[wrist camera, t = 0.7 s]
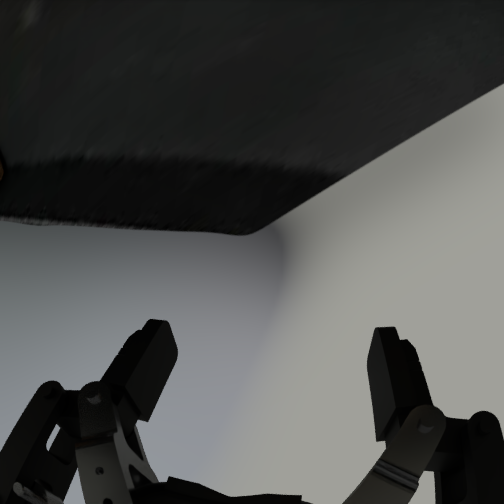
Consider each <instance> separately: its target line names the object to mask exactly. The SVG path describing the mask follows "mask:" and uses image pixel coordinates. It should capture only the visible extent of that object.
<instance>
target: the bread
mask: <svg viewBox="0 0 504 504" xmlns="http://www.w3.org/2000/svg"><path fill="white" fill-rule="evenodd" d="M3 173H4V170H3V166H2V163H1V159H0V181H1V179H2V177H3Z"/></svg>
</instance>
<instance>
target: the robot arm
mask: <svg viewBox="0 0 504 504" xmlns="http://www.w3.org/2000/svg"><path fill="white" fill-rule="evenodd" d="M177 356H178V349H177V345H176V342H175V339H174V336H173V333H172V330H171V327H170V324H169V322H168V321H164V320H156V319H150V320H148V321H147V322H146V324H145V325H144V327H143V328H142V330H137V331H136V332H135V333H133V334H132V335H131V336H130V337H129V338H128V339H127V341H126V342H125V343H124V345H123V348H121V350H120V351H119V353H118V355H117V356H116V357H115V358H114V360H113V362H112V363H111V365H110V366H109V368H108V369H107V371H106V372H105V374H104V376H103V377H102V378H101V380H100V381H94V382H90V383H88V384H86V385H85V386H83V387H82V389H81V390H64V388H63V387H62V386H61V384H60V383H59V382H57V381H48V382H45V383H43V384H42V385H41V386H40V387H39V388H38V390H37V391H36V393H35V394H34V396H33V398H32V399H31V401H30V402H29V404H28V405H27V407H26V409H25V410H24V412H23V413H22V415H21V417H20V419H19V420H18V422H17V423H16V425H15V427H14V428H13V430H12V432H11V434H10V435H9V437H8V439H7V441H6V443H5V444H4V446H3V448H2V450H1V452H0V504H64V503H63V501H64V499H65V496H66V494H67V491H68V489H69V487H70V484H71V482H72V480H73V477H74V475H75V472H76V470H77V468H78V471H79V476H80V482H81V486H82V491H83V495H84V499H85V503H86V504H311V503H309V502H304V501H301V499H302V495H279V494H261V495H252V496H239V497H230V496H226V495H224V494H221V493H219V492H217V491H214V490H212V489H210V488H208V487H205V486H203V485H201V484H199V483H194V482H190V481H185V480H182V479H178V478H174V477H170V476H169V477H168V480H167V482H159V481H158V479H157V477H156V475H155V473H154V472H153V470H152V469H151V467H150V465H149V463H148V461H147V458H146V455H145V452H144V449H143V446H142V443H141V439H140V436H139V433H138V430H137V427H136V425H135V424H136V422H137V420H142V421H146V422H148V421H149V419H150V417H151V415H152V412H153V410H154V408H155V406H156V404H157V401H158V399H159V397H160V395H161V393H162V391H163V389H164V386H165V384H166V382H167V380H168V378H169V376H170V373H171V371H172V369H173V367H174V365H175V363H176V361H177ZM367 372H368V378H369V385H370V391H371V399H372V406H373V414H374V423H375V433H376V441H377V442H378V441H385V443H386V450H385V451H384V452H383V454H382V455H381V457H380V458H379V459H378V461H377V462H376V463H375V465H374V466H373V468H372V469H371V470H370V471H369V473H368V474H367V475H366V477H365V478H364V479H363V480H362V482H361V483H360V484H359V485H358V486H357V488H356V489H355V490H354V491H353V492H352V494H351V495H350V496H349V497H348V498H347V499H346V500H345V501H344V502H343V503H342V504H408V503H409V501H410V500H411V498H412V497H413V495H414V493H415V492H416V490H417V488H418V486H419V483H418V481H419V478H420V477H421V475H422V473H423V471H433V472H434V478H435V499H436V504H504V439H503V435H502V431H501V427H500V423H499V421H498V419H497V417H496V416H495V415H494V414H492V413H490V412H488V411H479V412H477V413H475V414H474V415H473V416H472V417H471V418H470V419H469V420H467V419H456V418H449V417H446V416H445V415H444V414H443V412H442V411H441V410H440V409H439V408H437V407H435V406H434V405H433V403H432V400H431V396H430V393H429V389H428V386H427V383H426V379H425V376H424V373H423V371H422V367H421V364H420V362H419V357H418V354H417V352H416V349H415V348H414V346H413V345H412V344H411V343H410V342H409V341H408V340H407V339H405V340H400V339H399V336H398V333H397V330H396V328H395V327H377V328H375V330H374V333H373V337H372V342H371V346H370V350H369V354H368V358H367ZM56 424H57V425H58V426H59V427H60V430H59V432H58V434H57V436H56V438H55V439H54V441H53V443H52V445H51V447H50V449H49V451H48V450H47V448H46V443H47V441H48V439H49V436H50V435H51V433H52V431H53V429H54V427H55V425H56Z"/></svg>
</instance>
